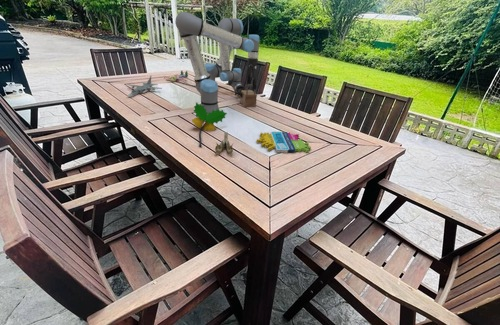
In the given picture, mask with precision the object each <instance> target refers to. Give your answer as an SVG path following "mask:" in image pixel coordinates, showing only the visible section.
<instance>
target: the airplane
mask: <svg viewBox="0 0 500 325" xmlns="http://www.w3.org/2000/svg"><path fill="white" fill-rule="evenodd" d="M158 85H159V84H158V83H152V75H150V76H149V78H148V80H147V82H142V85H138V84H137V85H136V84H129V83H128V84H127V86H129V87H131V88H130V90H131V92H130V93H129V94H128V95H127V98H133V97H135V96H137V95H139V94H145V93H147V92H150V91H151V93H152V92H154V91H155V90H156V89H159V90H160V89H162V87H155V86H158Z"/></svg>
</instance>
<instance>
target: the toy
mask: <svg viewBox="0 0 500 325" xmlns="http://www.w3.org/2000/svg"><path fill="white" fill-rule="evenodd" d="M188 76H189V74H188V70H186V71H185V73H184V71H183V70H181V71H180V74H174V75H171V76H166V75H164V76H163V79H164V80H166V79H167V80H170V81H169V82H174V81H184V82H187V78H188ZM174 83H175V82H174Z"/></svg>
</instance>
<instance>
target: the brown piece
mask: <svg viewBox="0 0 500 325" xmlns="http://www.w3.org/2000/svg"><path fill="white" fill-rule="evenodd" d="M249 87H253V83H251V84H247V83H246V90H241V93H243V94H244V95H245V96H246V97H248V96H257V97H258V94H257V93H256V89H249ZM248 89H249V90H248ZM253 91H254V92H253Z"/></svg>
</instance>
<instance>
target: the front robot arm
mask: <svg viewBox="0 0 500 325" xmlns="http://www.w3.org/2000/svg"><path fill="white" fill-rule="evenodd" d="M174 24H175V26H176V28H177V30H178V33H179V36H180V39H182V40H183V42H184V45H185V48H186V50H187V54H188V58H189V60H190V64H191V66H192V70H193V73H194V78H193V80H194V83H195V86H196V87H195V88H196V90H197V92H198V93H199V94H200V104H201V106H204V109H206V112H208V113H211V112H212V110H214V111H216V110H217V109H219V111H221V110H220V108H219V102H218V99H219V98H218V97H219V85H218V82H217V81H216V80H215V81H214V80H211V77H210V74H208V73H207V71H206V67H205V64H206V63H205V61H204V58H203V54H202V50H201V47H200V43H199V40H198V37H205V38H207V39H210V40H213V41H216V42H218V43H219V42H221V43H224V44H227V45H230V46H232V47H233V48H232V49H233V50H241V51H243V52H246V53H247V69H246V85H247V84H253V86H252V87H251V88H252V89H251V90H254V89H255V90H257V83H258V82H257V81H259V77H258V76H259V75H258V66H257V65H258V64H259V55H260V53H259V52H260V50H259V48H260V36H259V35H258V34H249V35H248V37H243V36H241V35H236V34H233V33H231V32H228V31H225V30H223V29H220V28H218V26H216V25H212V24H210V23H207V22H205V20H204V19H202V18H200V17H198V16H196V15H194V14H192V13H191V12H187V11H181V12H179V13H178V14H177V15H176V17H175V23H174ZM251 81H252V83H251ZM208 113H207V115H208ZM204 125H205V123H203V125H202V127H201V129H200V128H199V134H198V137H199V148H201V147H202V131H203V130H204V129H203V127H204Z"/></svg>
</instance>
